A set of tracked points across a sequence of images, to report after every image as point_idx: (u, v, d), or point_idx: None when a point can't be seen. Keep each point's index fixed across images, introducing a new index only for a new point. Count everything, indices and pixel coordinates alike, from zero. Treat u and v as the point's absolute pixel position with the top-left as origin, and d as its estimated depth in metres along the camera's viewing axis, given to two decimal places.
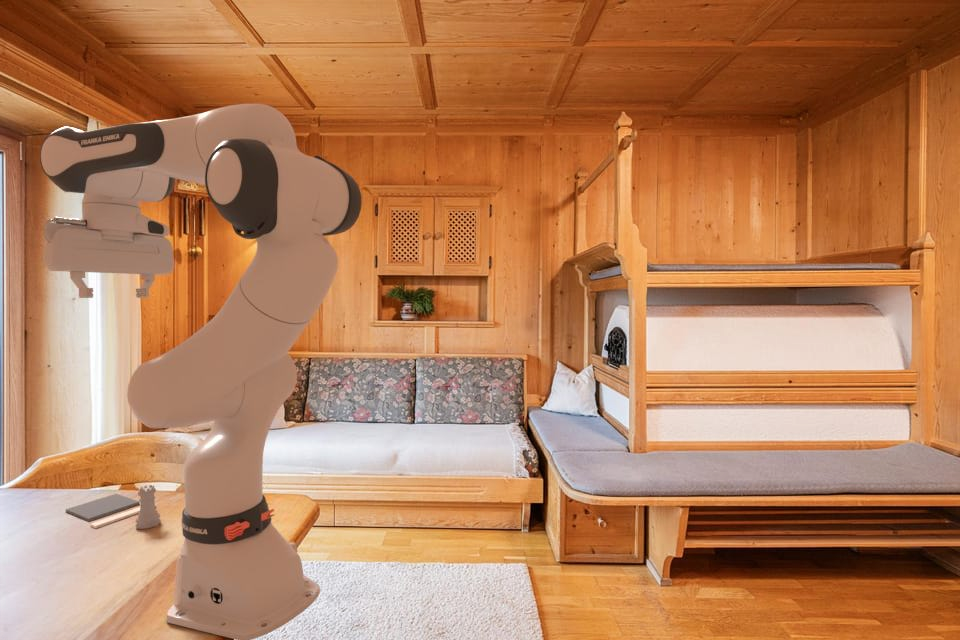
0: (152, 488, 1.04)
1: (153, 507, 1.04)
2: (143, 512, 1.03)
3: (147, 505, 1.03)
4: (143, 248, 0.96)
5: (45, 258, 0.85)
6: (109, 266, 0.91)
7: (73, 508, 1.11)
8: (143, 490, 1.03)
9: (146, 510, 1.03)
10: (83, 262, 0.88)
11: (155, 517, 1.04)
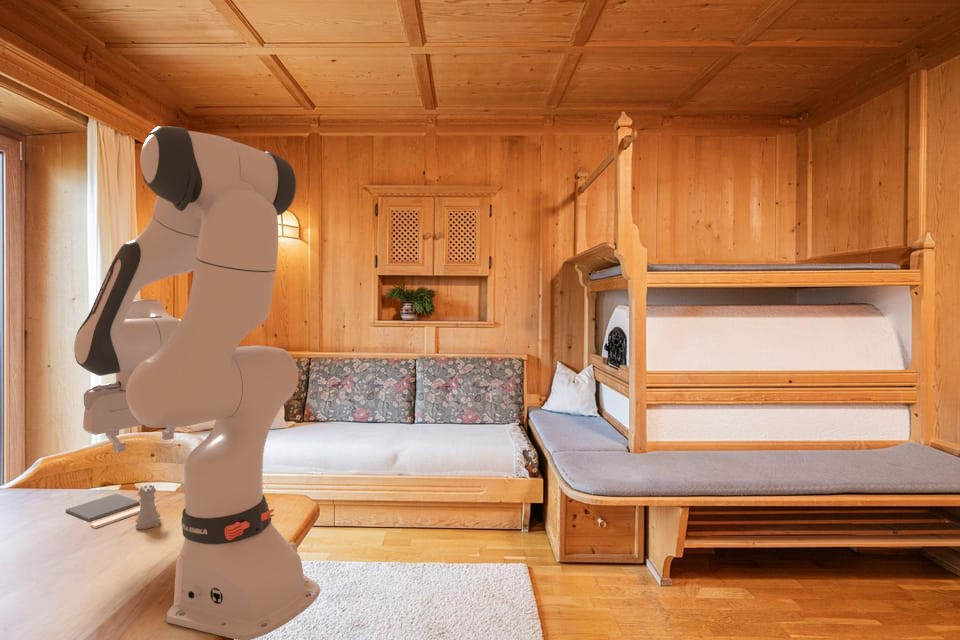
0: (152, 488, 1.04)
1: (153, 507, 1.04)
2: (143, 512, 1.03)
3: (147, 505, 1.03)
4: None
5: (84, 423, 0.95)
6: None
7: (73, 508, 1.11)
8: (143, 490, 1.03)
9: (146, 510, 1.03)
10: (117, 422, 0.98)
11: (155, 517, 1.04)
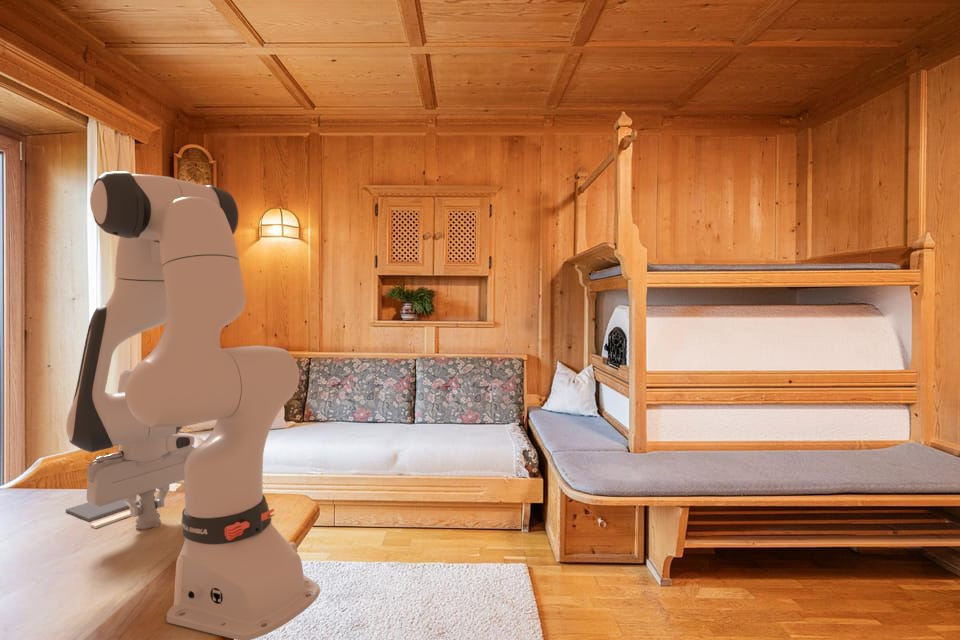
0: None
1: (153, 507, 1.04)
2: (143, 512, 1.03)
3: (147, 505, 1.03)
4: (171, 461, 1.07)
5: (88, 495, 0.96)
6: (142, 488, 1.02)
7: (73, 508, 1.11)
8: None
9: (146, 510, 1.03)
10: (121, 492, 0.98)
11: (155, 517, 1.04)
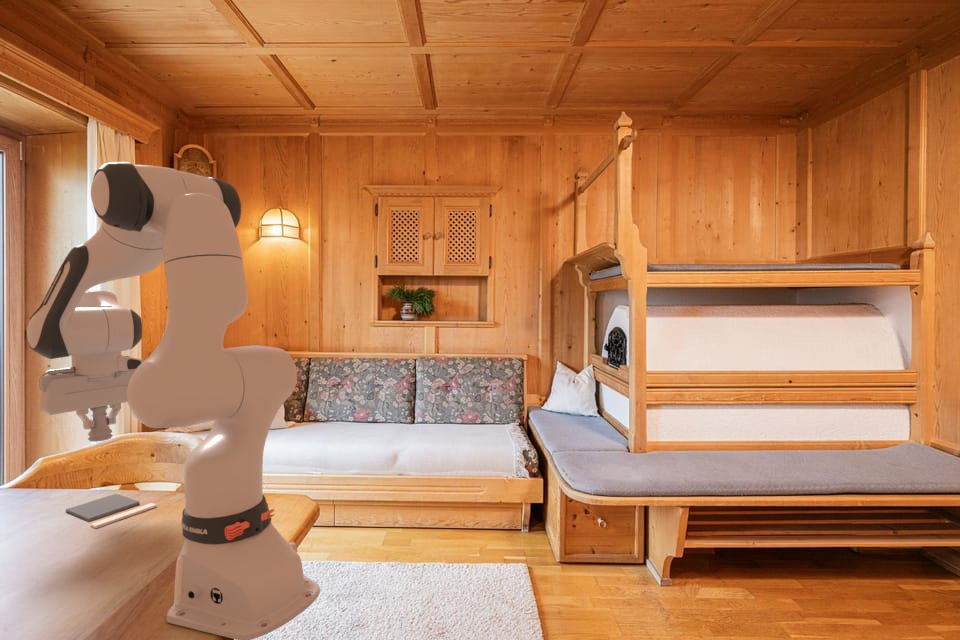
0: None
1: (105, 422, 1.12)
2: (95, 426, 1.11)
3: (99, 419, 1.11)
4: (123, 381, 1.15)
5: (40, 404, 1.04)
6: (94, 402, 1.10)
7: (73, 508, 1.11)
8: None
9: (98, 424, 1.11)
10: (72, 404, 1.06)
11: (106, 431, 1.12)
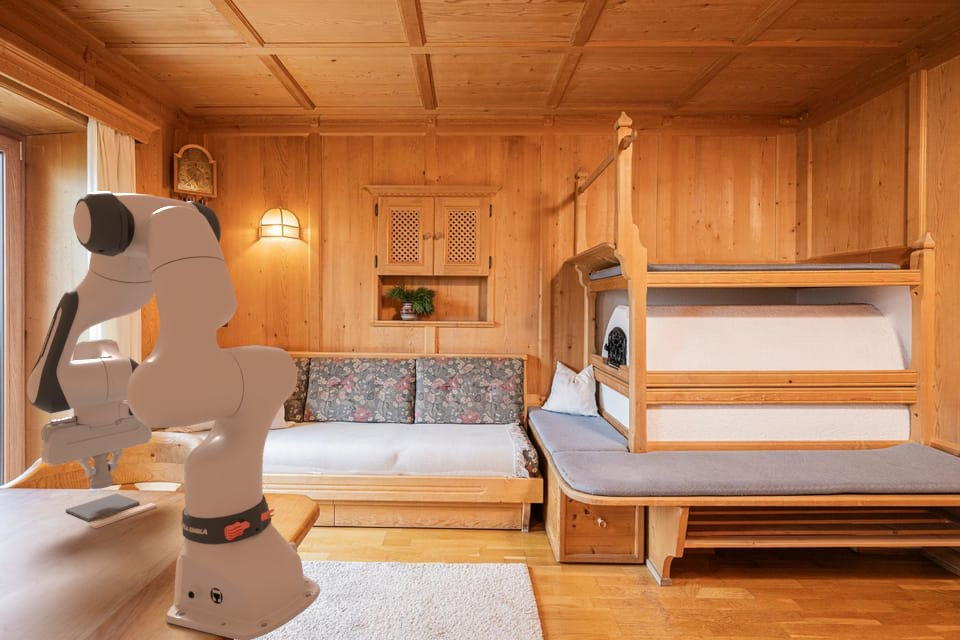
0: None
1: (106, 469, 1.13)
2: (97, 473, 1.11)
3: (101, 466, 1.12)
4: (124, 427, 1.15)
5: (42, 455, 1.04)
6: (96, 451, 1.10)
7: (73, 508, 1.11)
8: None
9: (99, 472, 1.12)
10: (74, 454, 1.07)
11: (107, 478, 1.12)
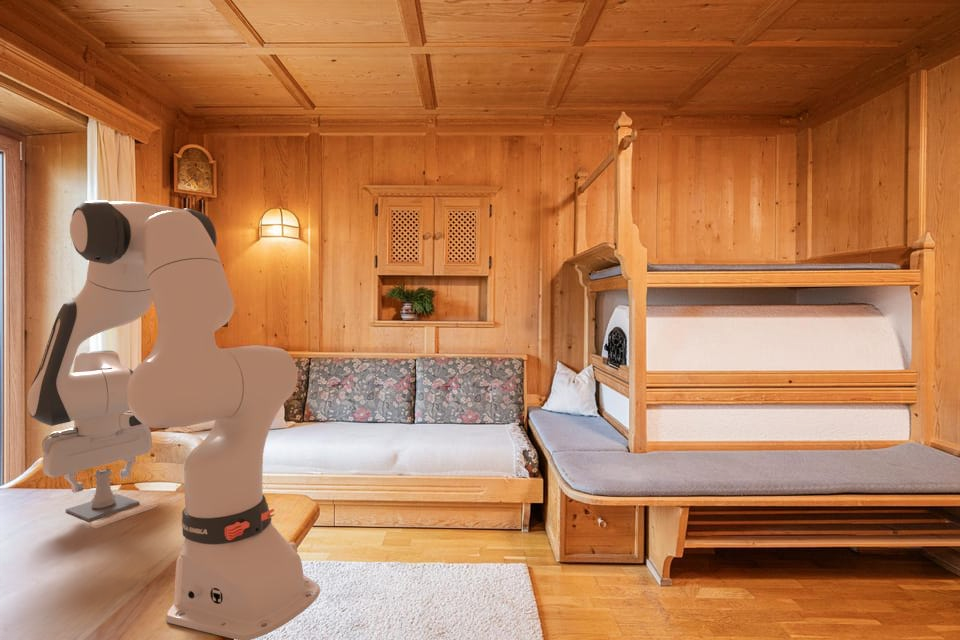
0: (108, 471, 1.13)
1: (108, 488, 1.13)
2: (99, 492, 1.12)
3: (103, 486, 1.12)
4: (125, 438, 1.15)
5: (43, 467, 1.04)
6: (96, 462, 1.10)
7: (73, 508, 1.11)
8: (99, 472, 1.12)
9: (101, 491, 1.12)
10: (75, 465, 1.07)
11: (109, 498, 1.12)
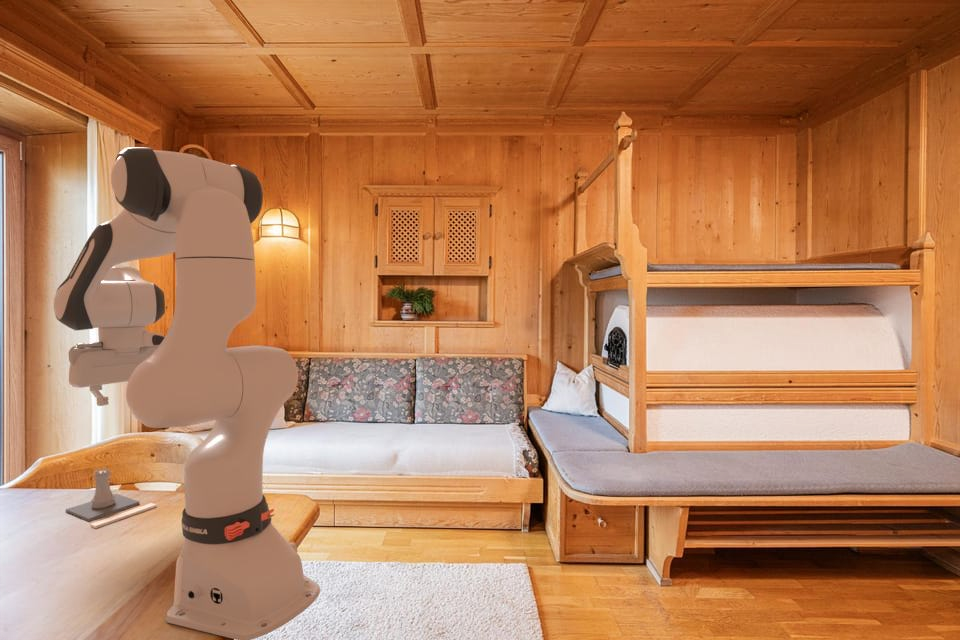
0: (107, 471, 1.13)
1: (108, 489, 1.13)
2: (98, 493, 1.12)
3: (102, 486, 1.12)
4: (148, 357, 1.16)
5: (70, 377, 1.05)
6: (121, 377, 1.11)
7: (73, 508, 1.11)
8: (98, 473, 1.12)
9: (101, 491, 1.12)
10: (100, 377, 1.08)
11: (109, 498, 1.12)
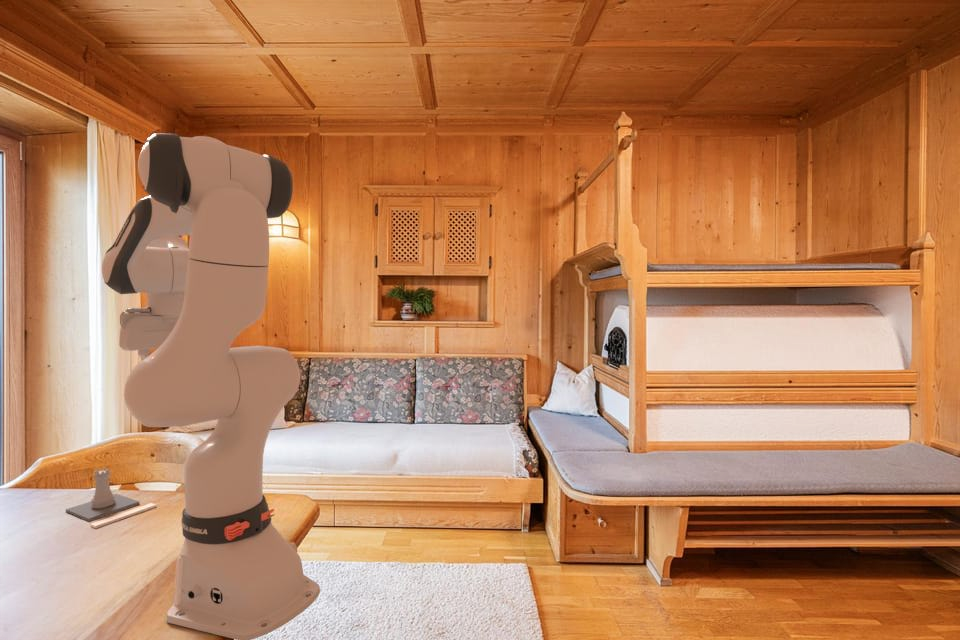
0: (106, 471, 1.13)
1: (107, 489, 1.13)
2: (98, 493, 1.12)
3: (102, 486, 1.12)
4: None
5: (120, 341, 1.08)
6: None
7: (73, 508, 1.11)
8: (98, 473, 1.11)
9: (101, 492, 1.12)
10: (149, 342, 1.11)
11: (109, 498, 1.12)
